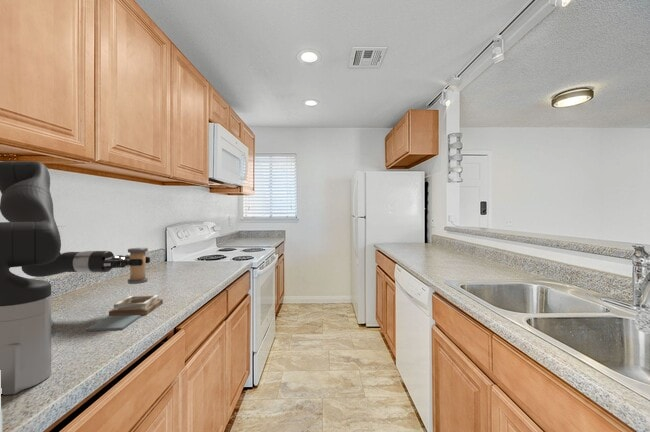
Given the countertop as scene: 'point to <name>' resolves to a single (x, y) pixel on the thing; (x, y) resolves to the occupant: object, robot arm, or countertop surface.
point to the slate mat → (114, 323)
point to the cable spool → (137, 271)
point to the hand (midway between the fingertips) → (145, 261)
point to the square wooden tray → (136, 305)
